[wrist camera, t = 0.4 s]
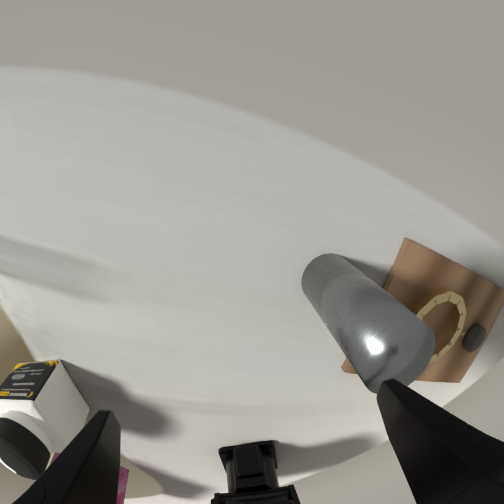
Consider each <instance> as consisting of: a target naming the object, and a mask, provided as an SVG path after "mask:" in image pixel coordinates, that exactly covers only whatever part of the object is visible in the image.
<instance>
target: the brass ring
mask: <svg viewBox="0 0 504 504" xmlns="http://www.w3.org/2000/svg"><path fill="white" fill-rule="evenodd" d="M446 301H450V302H451V304H452V307H453V310H454V312H453V317H452V322H451V326H450V327H449V329H448V331H447V333H446V334H445V336H444V338H443V339H442V340H441V341H439V342H438V343H437V344H436V345H435V349H434V353H433V355H432V358H431V360H430V362H429V363H431V362H434V361H436V360H438V359H439V358H441V357H442V356H443V355H444V354H445V353H446V352H447V351H448V350H449V349H450V348H451V347H452V346H453V345H454V343H455V341H456V340H457V338H458V336H459V335H460V333H461V331H462V329H463V325H464V321H465V316H466V307H465V304H464V300H463V297H462V296H460V295H459V294H457V293H455V292H453V291H452V290H450V289H448V288H446V287H442V288H439V289H435V290H432V291H429V292H427V293H426V294H425V295H424V296H423V297H422V298H421V299H420V300H419V301H417V302H416V303H415V304H414V305H413V307H411V309H410V311H411V312H412V313H414V314H415V315H416V316H417V317H418V318H420V319H421V320H422V318H423V316H425V315H426V314H427V313H428V312H429V311H430V310H431V309H432V308H433V307H434V306H435V305H437V304H440V303H443V302H446Z"/></svg>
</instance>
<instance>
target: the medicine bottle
mask: <svg viewBox="0 0 504 504" xmlns="http://www.w3.org/2000/svg"><path fill="white" fill-rule="evenodd" d="M89 411H90V408H89V406H88V405H87V403H86V402H85V400H84V399H83V397H82V396H81V394H80V393H79V391H78V389H77V388H76V386H75V385H74V383H73V381H72V380H71V378H70V376H69V375H68V373H67V371H66V370H65V368H64V366H63V364H62V363H61V361H60V360H51V361H41V362H32V363H21V364H17V365H16V367H15V368H14V369H13V370H12V372H11V373H10V374H9V375H8V377H7V378H6V379H5V381H4V382H3V383H2V385H1V386H0V462H1V463H3V465H5V466H6V467H7V468H9V469H10V470H11V471H13V472H15V473H16V474H18V475H20V476H22V477H25V478H29V479H33V480H37V479H38V478H39V477H40V476H41V475H42V473H43V472H44V471H45V469H46V467H47V464H48V462H49V460H50V457H51V455H52V452H56V453H61V452H62V451H63V450H64V449H65V447H66V446H67V445H68V444H69V443H70V442H71V441H72V440H73V438H74V437H75V436H76V435H77V434H78V433H79V432H80V431H81V430H82V428H83V426H84V423H85V421H86V418H87V416H88V413H89Z"/></svg>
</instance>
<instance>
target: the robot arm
mask: <svg viewBox="0 0 504 504" xmlns="http://www.w3.org/2000/svg"><path fill="white" fill-rule="evenodd" d="M377 403H378V406H379V409H380V412H381V415H382V419H383V422H384V425H385V428H386V432H387V435H388V437H389V440H390V442H391V444H392V446H393V449H394V451H395V453H396V456H397V458H398V460H399V462H400V465H401V467H402V470H403V472H404V474H405V477H406V479H407V481H408V484H409V486H410V489H411V491H412V494H413V496H414V498H415V501H416V503H417V504H504V442H503V441H500V440H498V439H496V438H493V437H491V436H489V435H487V434H485V433H483V432H482V431H480V430H478V429H476V428H474V427H473V426H471V425H469V424H467V423H466V422H464V421H463V420H461V419H459V418H457V417H456V416H454V415H453V414H451V413H449V412H448V411H446V410H444V409H443V408H441V407H439V406H438V405H436V404H435V403H433V402H431V401H430V400H428V399H426V398H425V397H423V396H422V395H420V394H418V393H417V392H415V391H414V390H412V389H410V388H409V387H407V386H406V385H404V384H402V383H401V382H399V381H398V380H396V379H394V378H390V379H386V380H383V381H382V382H381V385H380V388H379V391H378V394H377ZM120 437H121V428H120V424H119V422H118V421H117V419H116V417H115V415H114V414H113V412H112V411H111V410H103V409H102V410H99V411H98V412H97V413H96V414H95V415H94V416H93V417H92V418H91V419H90V421H89V422H88V423H87V424H86V425H85V426H84V427H83V428H82V430H81V431H80V432H79V433H78V434H77V435H76V436H75V437H74V438H73V440H72V441H71V442H70V443H69V444H68V445H67V446H66V447H65V449H64V450H63V451H62V452H61V453H60V454H59V455H58V456H57V458H56V459H55V460H54V461H53V462H52V463H51V464H50V465H49V467H48V468H47V469H46V470H45V471H44V472H43V473H42V475H41V476H40V477H39V478H38V479H37V480H36V481H35V482H34V484H32V485H31V487H30V488H29V489H28V490H27V491H26V492H24V493H23V494H22V495H21V496H20V497H19V498H18V499H17V500H16V501H15V502H13V503H12V504H116V502H117V492H118V482H119V473H120ZM219 455H220V458H221V461H222V463H223V466H224V468H225V471H226V473H227V482H228V493H221V494H220V493H215V494H214V499H212V500H211V504H300V501H299V499H298V496H297V493H296V490H295V488H294V485H293V484H292V485H288V486H285V487H279V483H278V479H277V474H276V469H277V468H278V467H277V460H276V453H275V445H274V442H272V441H268V442H263V443H256V444H250V445H242V446H235V447H226V448H220V449H219Z"/></svg>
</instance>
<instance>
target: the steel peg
mask: <svg viewBox="0 0 504 504" xmlns="http://www.w3.org/2000/svg"><path fill="white" fill-rule="evenodd" d="M302 289H303V292H304V294H305V295H306V297H307V298H308V300H309V301H310V303H311V304H312V306H313V307H314V309H315V310H316V312H317V313H318V315H319V316H320V318H321V319H322V321H323V322H324V323H325V325H326V326H327V328H328V329H329V331H330V332H331V334H332V336H333V337H334V339H335V340H336V342H337V343H338V345H339V346H340V348H341V349H342V351H343V352H344V354H345V355H346V357H347V358H348V360H349V361H350V363H351V364H352V366H353V367H354V369H355V370H356V372H357V373H358V375H359V377H360V378H361V380H362V381H363V383H364V384H365V386H366V387H367V388H368V390H370V391H371V392H373V393H376V394H378V391H379V388H380V385H381V382H382V381H383V380H386V379H390V378H394V379H396V380H398V381H399V382H401V383H402V384H404V385H406V386H408V385H409V384H410V383H412V382H413V381H414V380H415V379H416V378H417V377H418V376H419V375H420V374H421V373H422V372H423V371H424V370H425V368H426V367H427V365H428V364H429V362H430V360H431V358H432V355H433V353H434V349H435V335H434V332H433V330H432V329H431V328H430V327H429V326H428V325H427V324H426V323H424V322H423V321H422V320H421V319H420V318H418V317H417V316H416V315H415V314H414V313H412V312H411V311H410V310H409V309H407V308H406V307H405V306H404V305H403V304H401V303H400V302H399V301H398V300H396V299H395V298H394V297H393V296H391V295H390V294H389V293H388V292H386V291H385V290H384V289H383V288H381V287H380V286H379V285H378V284H376V283H375V282H374V281H373V280H371V279H370V278H369V277H367V276H366V275H365V274H364V273H362V272H361V271H360V270H358V269H357V268H356V267H355V266H353V265H352V264H351V263H349V262H348V261H347V260H345V259H344V258H343V257H341V256H339V255H336V254H324V255H321V256H318V257H317V258H315V259H314V260H312V261H311V262H310V263H309V264H308V266H307V267H306V269H305V270H304V273H303V276H302Z"/></svg>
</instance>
